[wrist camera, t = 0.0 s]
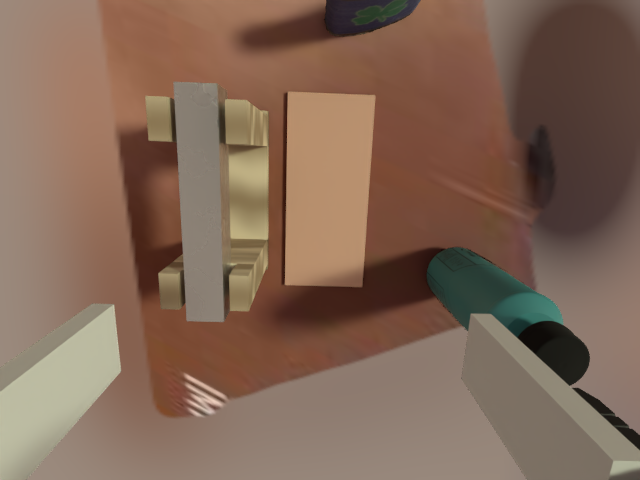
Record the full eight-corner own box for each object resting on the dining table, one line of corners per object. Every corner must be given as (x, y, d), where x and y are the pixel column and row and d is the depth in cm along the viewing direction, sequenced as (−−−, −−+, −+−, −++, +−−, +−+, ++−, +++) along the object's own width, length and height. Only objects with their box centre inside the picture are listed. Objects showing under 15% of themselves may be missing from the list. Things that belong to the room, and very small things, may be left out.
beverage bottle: (415, 291, 43) (499, 406, 24) (427, 237, 42) (527, 312, 22) (468, 297, 43) (594, 416, 24) (482, 244, 42) (628, 325, 22)
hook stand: (201, 109, 38) (144, 88, 25) (268, 111, 38) (246, 92, 25) (207, 265, 42) (161, 314, 29) (268, 266, 42) (248, 316, 29)
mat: (288, 92, 38) (287, 91, 37) (374, 95, 38) (375, 95, 37) (285, 283, 43) (284, 285, 42) (361, 285, 43) (362, 287, 42)
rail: (188, 89, 28) (173, 81, 25) (227, 90, 28) (217, 83, 25) (198, 305, 32) (186, 320, 29) (232, 306, 32) (224, 321, 29)
